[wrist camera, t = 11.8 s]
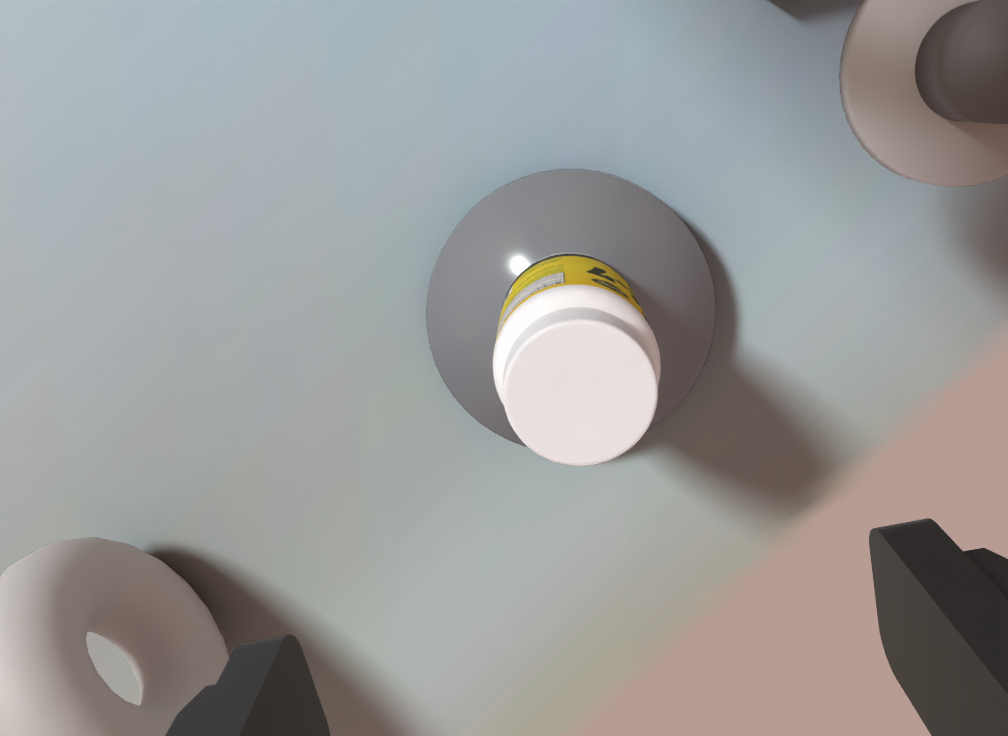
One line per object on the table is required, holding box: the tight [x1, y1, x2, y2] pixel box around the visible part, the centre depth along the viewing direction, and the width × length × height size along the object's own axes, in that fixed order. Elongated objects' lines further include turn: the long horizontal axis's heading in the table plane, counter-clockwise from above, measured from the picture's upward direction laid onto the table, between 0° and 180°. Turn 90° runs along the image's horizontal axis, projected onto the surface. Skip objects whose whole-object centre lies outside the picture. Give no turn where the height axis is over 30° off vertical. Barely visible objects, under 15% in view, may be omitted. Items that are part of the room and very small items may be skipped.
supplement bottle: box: [493, 253, 661, 466], centre depth 26 cm, size 5×5×8 cm
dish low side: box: [426, 169, 716, 447], centre depth 31 cm, size 10×10×1 cm
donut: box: [0, 537, 229, 736], centre depth 31 cm, size 10×3×10 cm, turn 37°
